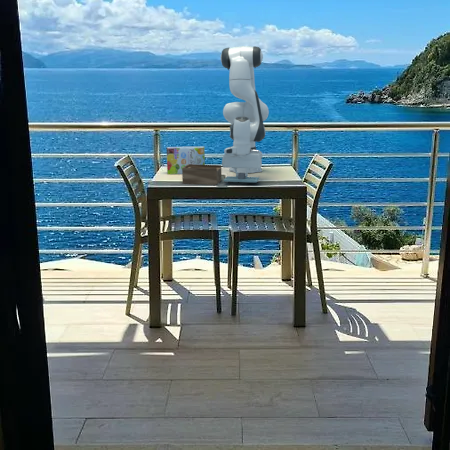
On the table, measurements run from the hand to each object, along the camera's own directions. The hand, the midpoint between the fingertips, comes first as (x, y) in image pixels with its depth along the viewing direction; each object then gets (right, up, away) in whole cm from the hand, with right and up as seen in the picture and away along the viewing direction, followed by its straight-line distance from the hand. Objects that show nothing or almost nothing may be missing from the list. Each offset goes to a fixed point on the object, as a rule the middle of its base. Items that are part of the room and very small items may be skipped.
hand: (241, 176), depth 299 cm
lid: (0, -2, 0) cm, 2 cm away
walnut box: (-21, -2, +5) cm, 21 cm away
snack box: (-31, +4, +31) cm, 43 cm away
